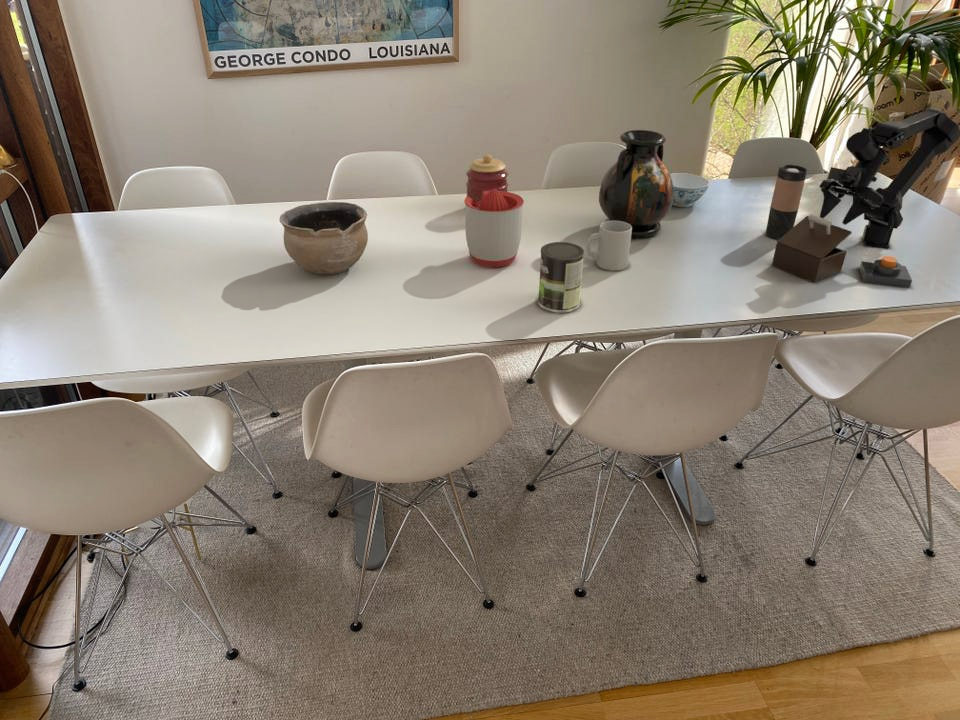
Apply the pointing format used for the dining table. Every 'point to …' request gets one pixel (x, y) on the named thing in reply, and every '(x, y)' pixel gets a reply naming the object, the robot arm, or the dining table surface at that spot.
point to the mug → (612, 245)
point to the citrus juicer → (494, 227)
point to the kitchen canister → (485, 177)
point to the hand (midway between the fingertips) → (832, 220)
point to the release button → (888, 261)
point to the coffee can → (560, 277)
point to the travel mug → (785, 200)
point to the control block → (885, 274)
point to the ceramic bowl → (325, 236)
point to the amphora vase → (638, 184)
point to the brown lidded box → (808, 263)
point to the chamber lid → (814, 237)
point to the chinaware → (688, 188)
